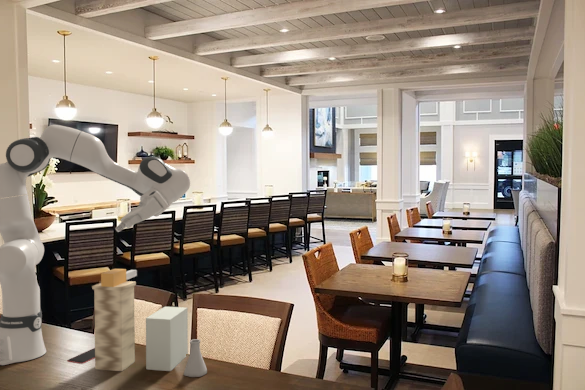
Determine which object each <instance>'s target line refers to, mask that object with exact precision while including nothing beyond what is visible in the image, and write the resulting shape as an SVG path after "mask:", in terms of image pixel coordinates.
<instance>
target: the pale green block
mask: <svg viewBox="0 0 585 390" xmlns="http://www.w3.org/2000/svg"><path fill="white" fill-rule="evenodd" d="M188 311H189V308H188V307H183V306H182V307H180V306H163V307H162V308H159V309H158V310H157V311H155V312H153V313H152V314H151V315H149V316H147V317H145V360H146V361H145V362H146V363H145V368H146V369H145V370H149V371H150V370H152V371H163V372H164V371H166V372H171V371H173V370H174V369H175V368H176V367H177V366H178V365H179V364H180V363H181V362H182V361H183V360H184V359H185V358H186V357H187V356H186V354H188V355H189V345H188V344H189V343H188V342H189V338H188V337H189V335H188V334H189V333H188V332H189V331H188V330H189V328H188V327H189V326H188V325H189V324H188V323H189V321H188V320H189V319H188V317H189V316H188V315H189V313H188Z"/></svg>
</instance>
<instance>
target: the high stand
mask: <svg viewBox="0 0 585 390" xmlns="http://www.w3.org/2000/svg"><path fill="white" fill-rule="evenodd" d="M136 285H137V282H136V281H132V280H131V281H130V280H129V281H128V280H126V282H124V283H122V284H119V285H117V286H114V287H103V286H101V282H99V283H96V284H94V285H91V288H92V290H93V291H94V293H93V294H94V297H93V299H94V306H93V307H94V348H95V358H94V359H95V361H94V363H95V364H94V365H95V368H94V369H95V370H100V371H114V372H123V371H125V370H126V369H127V368H128V367H130V366H131V365H133V364H134V363H135V361H136V355H135V354H136V352H135V350H136V347H135V346H136V345H135V344H136V343H135V341H136V340H135V338H136V337H135V336H136V335H135V286H136Z"/></svg>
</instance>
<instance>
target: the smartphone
mask: <svg viewBox="0 0 585 390" xmlns="http://www.w3.org/2000/svg"><path fill="white" fill-rule="evenodd" d="M94 359H95V347H93V348H91V349H89V350H87V351H85V352H83V353H80V354H77V355H76V356H74V357H71V358H69V359H67V360H66V361H67V362H68V363H73V364H81V365H83V364H86V363H88V362H90V361H92V360H94Z"/></svg>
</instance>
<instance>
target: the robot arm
mask: <svg viewBox="0 0 585 390" xmlns="http://www.w3.org/2000/svg"><path fill="white" fill-rule="evenodd" d="M55 158H56V159H61V160H65V161H67V162H71V163H73V164H76V165H78V166H81V167H84V168H86V169H89V170H90V171H91V172H93V173H96V174H97V175H99V176H101V177H103V178H105V179H107V180H110V181H112V182H115V183H117V184H119V185H121V186H124V187H126V188H129V189H130V190H132V191H133V192H134V193H135V194H137V195H138V196H139V198H140V199H139V200H140V201H139V203H138V206H137V207H135V208H133V209H132V210H130V211H129V212H128V213H126V214H125V215H123V216H122V218H120V223H119V224H118V225H117V226H115V231H116V232H117V233H119V232H122V231H123V230H125V228H127V229H129V228H132V227H133V226H134V225H135V224H139V223H141V222H143V221H145V220H149V219H151V217H159V216H161V215H162V213H164V212H165V211H166V210H168V209H169V208H170V206H171V205H172V204H173V203H175V202H177V201H178V200H180V199H181V198H182V197H183V196H184V195H185V194H186V193H187V192H188V191H189V189H190V186H191V181H190V177H189V175H188V174H187V173H186V171H185V170H183V169H181V168H175V167H173V166H171V165H169V164H167V163H166V162H164V160H163V159H161V158H159V157H157V156H147V157H144V158H143V159H142V160H141V161H140V163H139V166H138V169H137V171H135V170H133V169H130V168H128V167H126V166H124V165H121V164H119V163H118V162H115V161H114V160H113V159H112V158H111V157H110V156H109V154H108V152H107V149H106V147H105V145H104V143H103V142H102V140H101V139H100V138H98V137H96V136H95V135H93V134H91V133H89V132H86V131H83V130H79V129H77V128H73V127H69V126H65V125H60V124H50V125H48V126H47V127H46V128H44V130H43V131H42V133H41V136H40V137H39V136H33V137H27V138H20V139H17V140H14V141H12V142H11V143H10V144H9V145H8V147H7V148H6V152H5V159H6V162H5V163H4V162H3V163H0V235H1V238H2V241H3V244H2V245H1V246H0V289H1V301H2V303H1V305H2V309H1V310H2V314H0V366H5V365H9V364H15V363H21V362H26V361H30V360H34V359H37V358H38V359H39V358H40V357H42V356H43V355H45V354H46V353H47V349H46V346H45V345H46V344H45V341H44V338H43V332H42V331H43V330H42V323H43V319H42V318H43V314H42V313H43V311H42V309H41V289H40V286H39V283H38V280H37V273H36V265H38V264H40V262H41V261H42V259H43V257H44V254H45V246H44V244H43V242H42V240H41V237H40V234H39V232H38V229H37V226H36V224H35V221H34V217H33V215H32V214H33V213H32V209H31V203H30V199H29V198H30V197H29V193H28V188H27V178H28V177H31V176H33V175H35V174H37V173H40V172H42V171H44V170H45V169H46V168H47V167H48V166H49V164H50V163H51V159H55Z"/></svg>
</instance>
